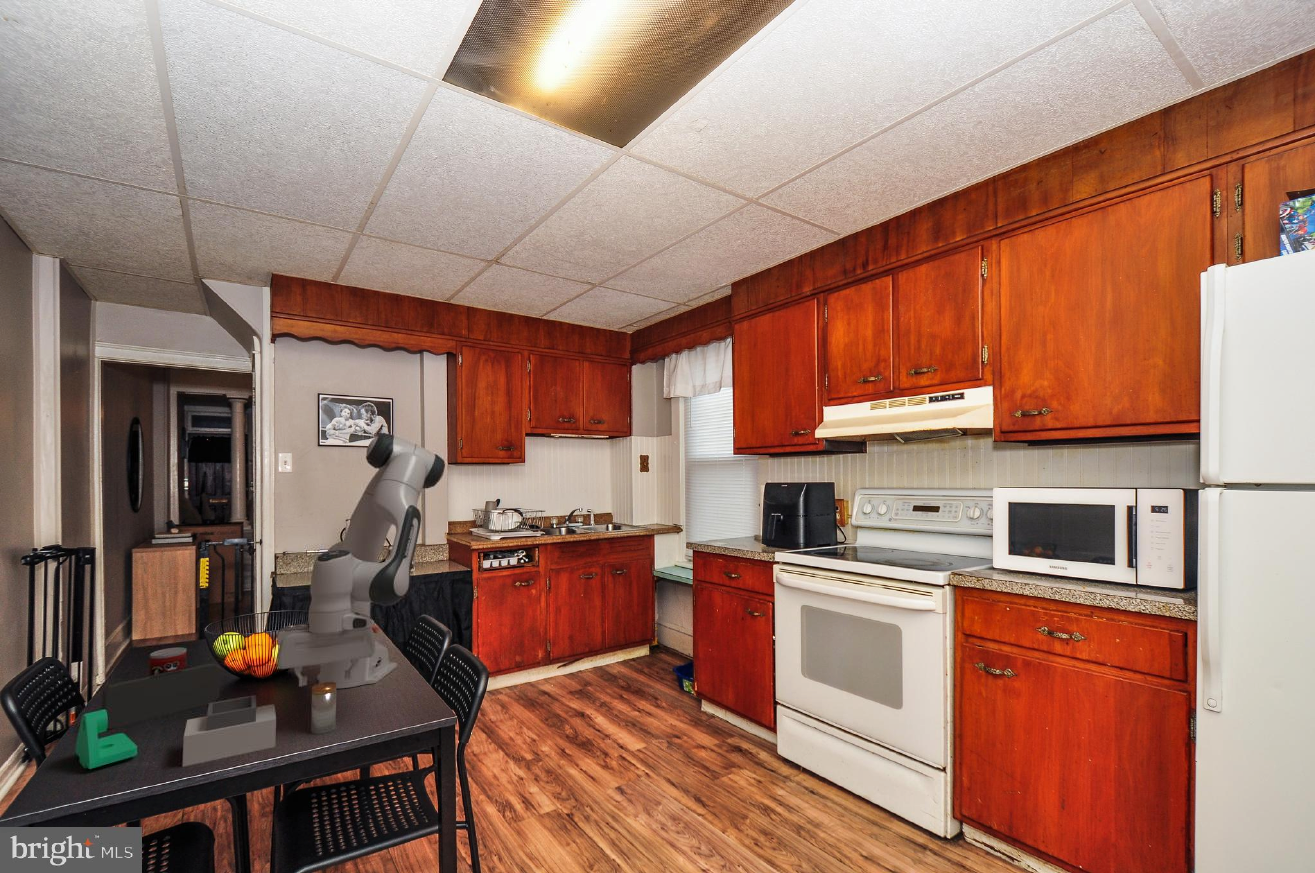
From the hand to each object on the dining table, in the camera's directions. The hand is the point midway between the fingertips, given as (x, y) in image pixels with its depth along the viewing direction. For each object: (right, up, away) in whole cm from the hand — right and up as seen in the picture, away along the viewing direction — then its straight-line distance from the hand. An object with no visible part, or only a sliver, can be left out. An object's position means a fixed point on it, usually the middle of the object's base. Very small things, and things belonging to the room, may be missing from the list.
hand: (326, 681), depth 143 cm
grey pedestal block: (-15, -10, -10) cm, 21 cm away
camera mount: (-38, -11, -15) cm, 42 cm away
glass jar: (0, -11, 0) cm, 11 cm away
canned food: (-55, -12, +22) cm, 61 cm away
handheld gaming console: (-45, -12, +8) cm, 47 cm away
